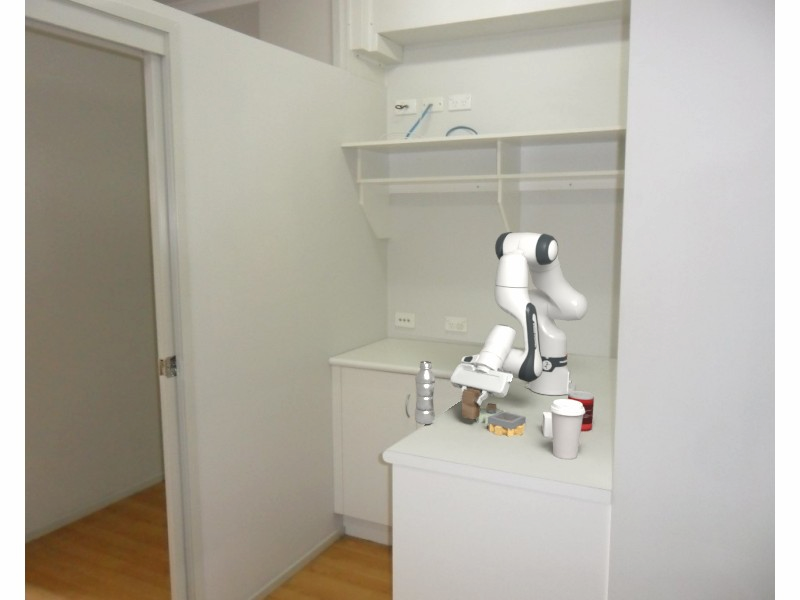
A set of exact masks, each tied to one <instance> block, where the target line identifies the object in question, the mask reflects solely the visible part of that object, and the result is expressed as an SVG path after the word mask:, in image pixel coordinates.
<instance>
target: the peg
mask: <svg viewBox="0 0 800 600" xmlns="http://www.w3.org/2000/svg"><path fill="white" fill-rule="evenodd" d="M461 396H462V400H461V402H462V403H461V418H465V419H470V420H476V418H477V417H479V416H480V408H481V405H477V404H476V403H475V400H476V397H478V398H479V397H480V396H481V393H480V391H479V390H475V389H470V388H469V389H467V390H464V391H463V392H462V391H461Z"/></svg>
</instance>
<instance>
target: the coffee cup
mask: <svg viewBox="0 0 800 600" xmlns="http://www.w3.org/2000/svg"><path fill="white" fill-rule="evenodd" d="M549 410H550V411H551V412H552V435H553V437H552V454H553V456H555V457H556V458H559V459H561V458H562V459H561V460H574V459H577V457H578V453H579V452H578V451H579V447H580V446H579V445H580V437H581V432H582V431H581V426H582V419H583V414H585V409H584V407H583V404H582V403H581V402H579V401H575V400H570V399H568V398H567V399H566V398H561V399H560V398H558V399H554V400H553V401H552V404H551V405H550V407H549Z"/></svg>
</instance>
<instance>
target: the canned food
mask: <svg viewBox="0 0 800 600" xmlns="http://www.w3.org/2000/svg"><path fill="white" fill-rule="evenodd" d="M567 399H570V400H575V401H579V402H581V403H582V404H583V407H584V409H585V414H583V419H582V426H581V432H589V431H591V430H592V428H593V422H594V421H593V420H594V419H593V418H594V403H595V395H594V394H593V393H592V392H589V391H584V390H583V391H582V390H575V391H571V392H569V393H568V394H567Z"/></svg>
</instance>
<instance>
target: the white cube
mask: <svg viewBox="0 0 800 600" xmlns="http://www.w3.org/2000/svg"><path fill="white" fill-rule="evenodd" d="M541 424H542V425H541V427H542V429H541V431H542V435H543V437H545V438H553V435H552V412H548V411H543V412H542V423H541Z"/></svg>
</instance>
